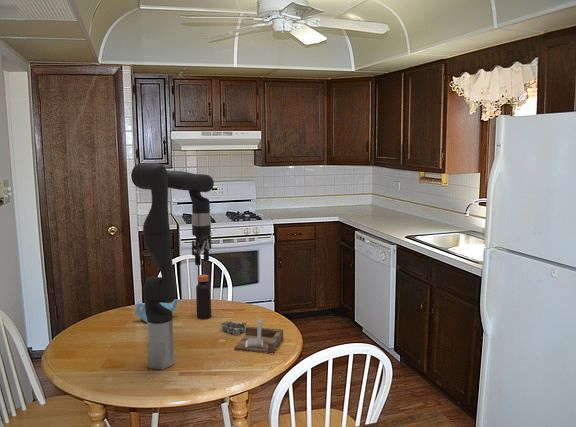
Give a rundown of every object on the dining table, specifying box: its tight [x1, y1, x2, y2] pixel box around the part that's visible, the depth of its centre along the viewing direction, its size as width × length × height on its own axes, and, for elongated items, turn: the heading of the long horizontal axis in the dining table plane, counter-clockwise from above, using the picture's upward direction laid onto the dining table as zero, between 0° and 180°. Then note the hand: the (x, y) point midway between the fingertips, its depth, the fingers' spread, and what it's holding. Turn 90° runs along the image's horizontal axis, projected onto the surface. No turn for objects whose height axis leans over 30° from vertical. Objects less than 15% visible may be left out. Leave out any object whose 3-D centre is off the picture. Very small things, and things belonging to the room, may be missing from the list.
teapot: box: [134, 298, 179, 324], centre depth 242 cm, size 15×15×11 cm
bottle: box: [195, 274, 212, 320], centre depth 244 cm, size 7×7×20 cm
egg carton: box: [220, 320, 248, 336], centre depth 228 cm, size 11×8×4 cm
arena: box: [233, 325, 284, 354], centre depth 213 cm, size 16×16×4 cm
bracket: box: [247, 317, 262, 347], centre depth 209 cm, size 6×5×10 cm
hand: (202, 262), depth 213 cm, fingers open, 8 cm apart
